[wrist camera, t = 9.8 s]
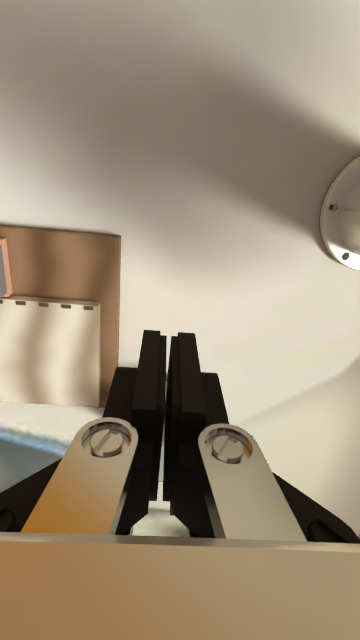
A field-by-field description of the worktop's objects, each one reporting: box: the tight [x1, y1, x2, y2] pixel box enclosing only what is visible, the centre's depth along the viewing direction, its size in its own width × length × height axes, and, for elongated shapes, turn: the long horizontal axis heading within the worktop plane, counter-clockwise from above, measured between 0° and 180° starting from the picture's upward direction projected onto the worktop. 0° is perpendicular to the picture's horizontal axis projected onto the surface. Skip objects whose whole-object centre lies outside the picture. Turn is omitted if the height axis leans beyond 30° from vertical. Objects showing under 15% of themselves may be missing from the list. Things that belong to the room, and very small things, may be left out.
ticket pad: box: [0, 225, 121, 408], centre depth 39 cm, size 18×22×2 cm
